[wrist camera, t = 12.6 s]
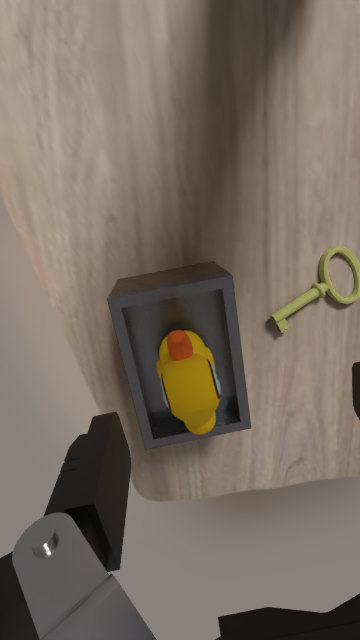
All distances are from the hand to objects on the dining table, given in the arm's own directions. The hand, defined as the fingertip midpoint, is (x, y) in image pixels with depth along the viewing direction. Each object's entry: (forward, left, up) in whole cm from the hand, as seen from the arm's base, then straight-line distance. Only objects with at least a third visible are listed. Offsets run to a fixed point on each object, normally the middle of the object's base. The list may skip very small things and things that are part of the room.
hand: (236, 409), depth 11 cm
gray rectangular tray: (+1, +7, -27) cm, 28 cm away
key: (-16, +5, -28) cm, 33 cm away
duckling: (+1, +7, -21) cm, 22 cm away
